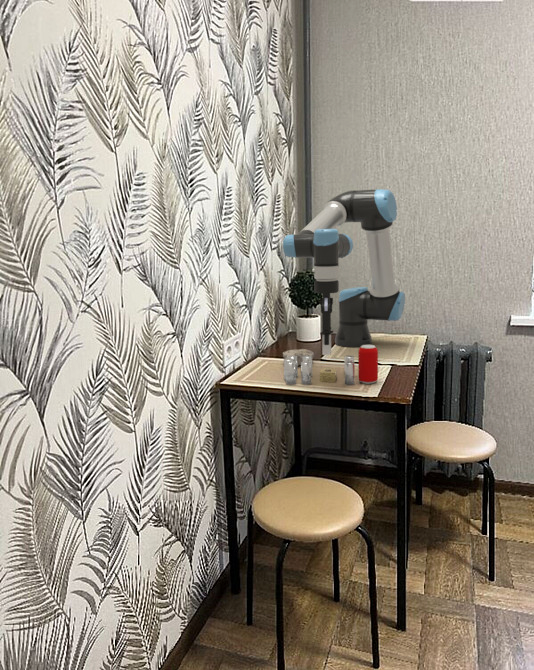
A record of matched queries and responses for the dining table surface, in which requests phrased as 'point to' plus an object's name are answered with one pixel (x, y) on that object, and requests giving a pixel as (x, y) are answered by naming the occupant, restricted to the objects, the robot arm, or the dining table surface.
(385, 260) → the robot arm
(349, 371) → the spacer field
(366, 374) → the beverage can
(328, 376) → the nut
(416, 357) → the dining table surface
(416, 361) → the dining table surface
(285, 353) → the rock
